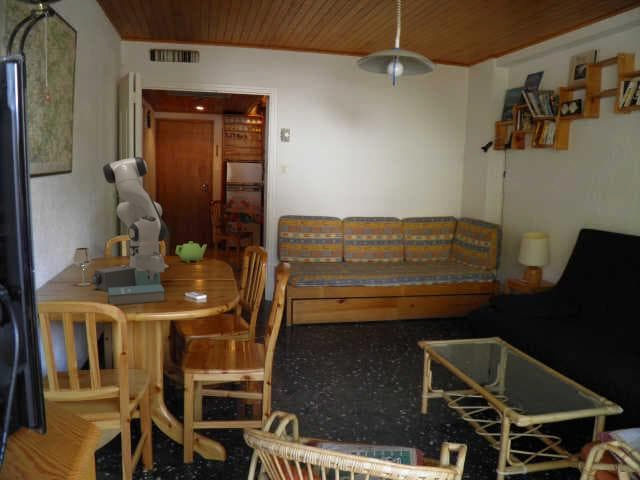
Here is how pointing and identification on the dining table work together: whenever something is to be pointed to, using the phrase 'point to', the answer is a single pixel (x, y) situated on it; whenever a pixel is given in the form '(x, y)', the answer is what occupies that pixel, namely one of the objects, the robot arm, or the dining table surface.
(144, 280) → the side door
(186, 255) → the teapot
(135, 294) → the book
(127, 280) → the housing
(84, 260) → the wineglass
